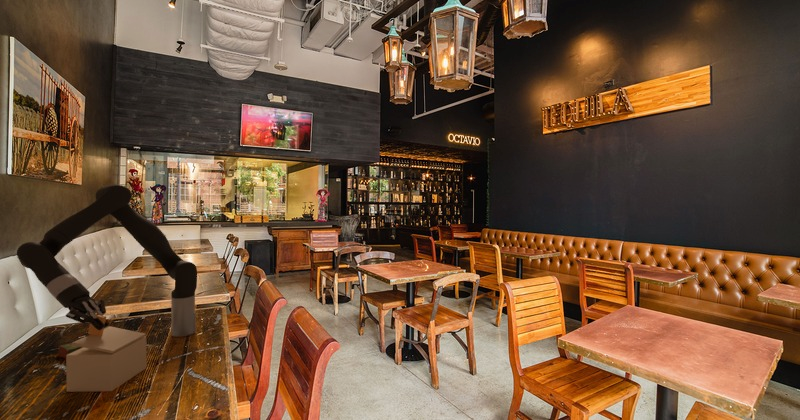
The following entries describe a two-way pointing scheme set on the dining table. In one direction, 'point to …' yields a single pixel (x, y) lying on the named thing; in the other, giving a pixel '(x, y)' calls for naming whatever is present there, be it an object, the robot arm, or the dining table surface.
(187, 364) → the dining table surface
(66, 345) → the carton
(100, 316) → the tan box lid
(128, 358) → the cardboard box
